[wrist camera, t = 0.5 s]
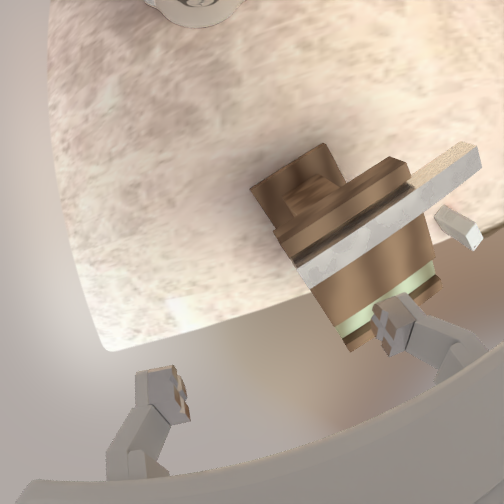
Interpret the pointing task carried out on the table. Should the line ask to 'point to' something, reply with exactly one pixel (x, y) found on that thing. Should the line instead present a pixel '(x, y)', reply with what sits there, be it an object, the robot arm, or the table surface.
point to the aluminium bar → (387, 214)
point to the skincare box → (459, 227)
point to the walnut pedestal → (336, 213)
